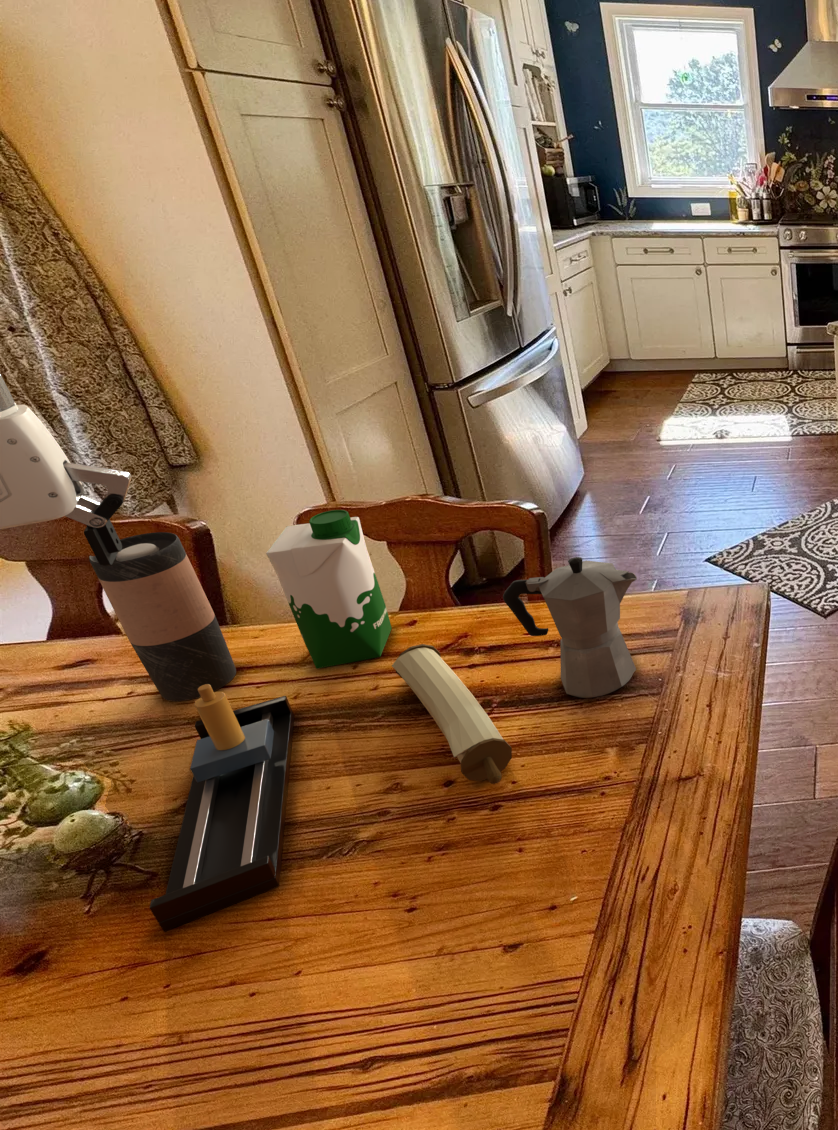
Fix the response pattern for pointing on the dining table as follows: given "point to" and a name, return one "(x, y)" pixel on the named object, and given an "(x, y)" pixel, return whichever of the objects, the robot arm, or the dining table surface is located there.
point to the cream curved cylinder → (455, 713)
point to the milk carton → (332, 588)
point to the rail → (231, 828)
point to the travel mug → (166, 615)
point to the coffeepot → (582, 623)
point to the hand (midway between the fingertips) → (38, 573)
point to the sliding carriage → (227, 738)
